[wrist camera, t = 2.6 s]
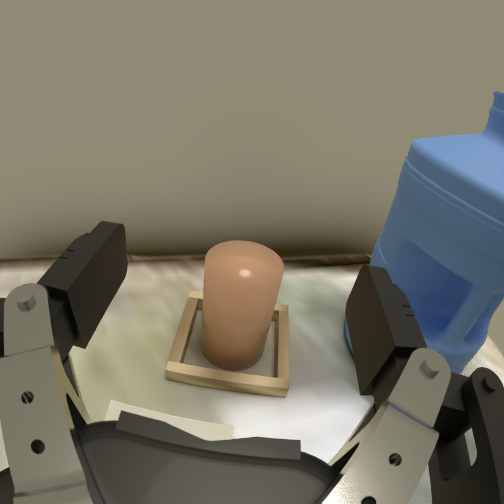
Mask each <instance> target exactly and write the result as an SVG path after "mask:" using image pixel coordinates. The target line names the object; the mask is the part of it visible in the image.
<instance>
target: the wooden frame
mask: <svg viewBox="0 0 504 504" xmlns="http://www.w3.org/2000/svg"><path fill="white" fill-rule="evenodd" d="M198 309H203V292H197V291H191V292H190V295H189V298H188V301H187V304H186V307H185V310H184V313H183V316H182V319H181V322H180V325H179V328H178V331H177V334H176V338H175V341H174V344H173V347H172V350H171V354H170V357H169V360H168V363H167V366H166V377H167V379H169V380H173V381H178V382H183V383H188V384H194V385H199V386H205V387H211V388H217V389H223V390H230V391H237V392H244V393H252V394H260V395H269V396H279V397H286V395H287V392H288V390H289V317H288V305H282V304H275V308H274V312H273V316H272V319H271V320H276V350H275V378H274V377H266V376H257V375H250V374H242V373H235V372H229V371H222V370H216V369H210V368H204V367H198V366H193V365H188V364H183V360H184V357H185V353H186V349H187V346H188V342H189V338H190V335H191V331H192V328H193V324H194V321H195V317H196V314H197V310H198Z"/></svg>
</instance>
